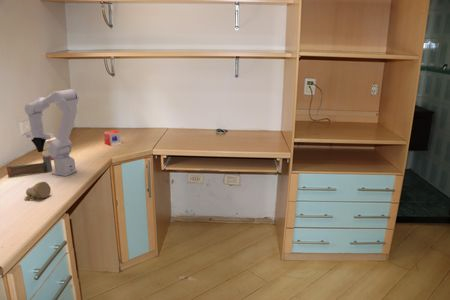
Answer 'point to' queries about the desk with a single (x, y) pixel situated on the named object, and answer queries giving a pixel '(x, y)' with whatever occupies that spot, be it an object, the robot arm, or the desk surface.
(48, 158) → the gate post
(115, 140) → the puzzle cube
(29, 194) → the grey rounded lump
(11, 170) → the brown flat bar
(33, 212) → the desk surface
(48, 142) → the ink cartridge box
